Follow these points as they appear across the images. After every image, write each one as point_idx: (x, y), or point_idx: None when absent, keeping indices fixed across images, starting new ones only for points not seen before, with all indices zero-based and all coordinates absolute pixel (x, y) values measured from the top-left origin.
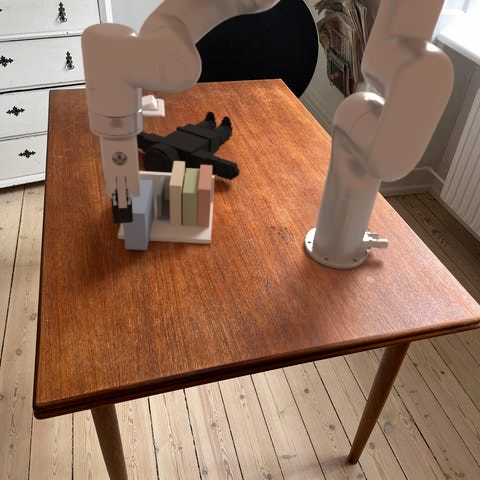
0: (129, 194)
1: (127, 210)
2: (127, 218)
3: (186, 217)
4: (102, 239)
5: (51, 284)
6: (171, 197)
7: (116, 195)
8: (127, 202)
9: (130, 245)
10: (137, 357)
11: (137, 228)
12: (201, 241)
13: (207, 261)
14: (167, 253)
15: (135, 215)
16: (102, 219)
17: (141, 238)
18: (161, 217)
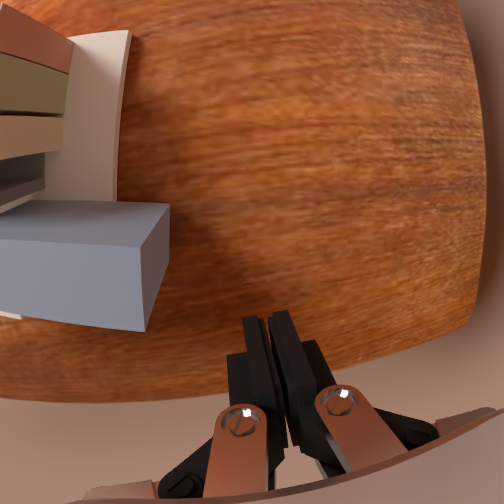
0: (403, 449)
1: (331, 373)
2: (316, 344)
3: (51, 101)
4: None
5: None
6: (5, 152)
7: (279, 462)
8: (423, 421)
9: (167, 252)
10: (458, 209)
11: (156, 252)
12: (126, 55)
13: (206, 38)
14: (168, 145)
15: (144, 280)
16: None
17: (163, 228)
18: (40, 178)
